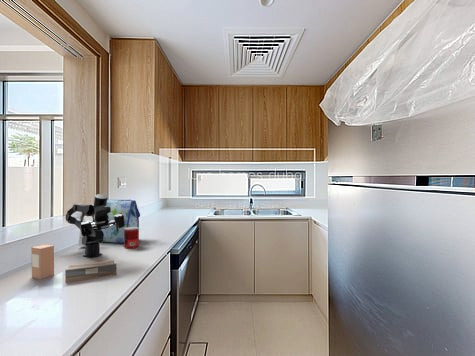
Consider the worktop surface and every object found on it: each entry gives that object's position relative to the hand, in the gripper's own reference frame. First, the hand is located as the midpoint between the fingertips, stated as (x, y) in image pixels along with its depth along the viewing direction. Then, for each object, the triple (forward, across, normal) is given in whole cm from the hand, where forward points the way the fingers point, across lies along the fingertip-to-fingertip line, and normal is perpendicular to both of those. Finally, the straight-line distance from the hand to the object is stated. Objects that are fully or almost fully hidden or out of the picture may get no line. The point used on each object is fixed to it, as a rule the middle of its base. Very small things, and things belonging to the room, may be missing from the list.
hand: (107, 233), depth 131 cm
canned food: (-25, +16, +28) cm, 40 cm away
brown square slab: (+8, -9, +12) cm, 17 cm away
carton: (+2, -26, +12) cm, 28 cm away
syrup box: (-41, -6, +29) cm, 50 cm away
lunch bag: (-46, +14, +34) cm, 59 cm away
